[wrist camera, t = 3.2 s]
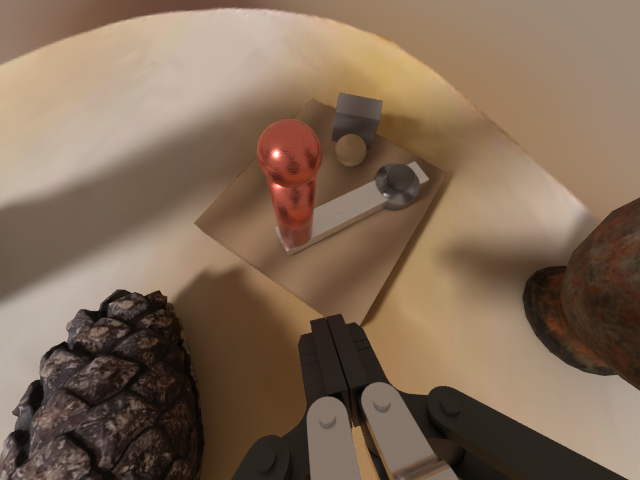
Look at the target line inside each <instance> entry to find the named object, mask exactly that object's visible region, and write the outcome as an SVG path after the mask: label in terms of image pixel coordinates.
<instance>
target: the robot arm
mask: <svg viewBox="0 0 640 480" xmlns="http://www.w3.org/2000/svg"><path fill="white" fill-rule="evenodd" d="M310 324H311V330H312V333H308V334H304V335H301V337H300V341H299V344H298V349H299V355H300V362H301V368H302V375H303V381H304V388H305V394H306V402H307V406H306V412H305V414H304V417H303V419H302V420H301V422H300V423H299V424H298V425H297V426H296V427H295V428H294V429H293V430H291V431H290V432H288V433H287V434H286V435H284V436H283V437H282V438H280V437H278V436H275V435H269V436H265V437H262V438H261V439H259V440H258V441H257V442H255V443H254V444H253V446H252V447H251V448H250V450H249V451H248V453H247V454H246V456H245V458H244V459H243V461H242V463H241V464H240V466H239V468H238V469H237V471H236V472H235V474H234V476H233V477H232V479H231V480H361V475H360V471H359V466H358V461H357V456H356V452H355V447H354V442H353V438H352V430H351V428H352V422H353V425H354V427H357V426H361V430H362V433H363V436H364V439H365V448H366V451H367V454H368V456H369V459H370V462H371V464H372V467H373V469H374V472H375V475H376V477H377V480H628V479H626V478H624V477H622V476H620V475H618V474H616V473H614V472H613V471H611V470H609V469H607V468H605V467H603V466H601V465H599V464H597V463H595V462H593V461H592V460H590V459H588V458H586V457H584V456H582V455H580V454H578V453H576V452H574V451H572V450H571V449H569V448H567V447H565V446H563V445H561V444H559V443H557V442H555V441H553V440H551V439H550V438H548V437H546V436H544V435H542V434H540V433H538V432H536V431H534V430H532V429H530V428H529V427H527V426H525V425H523V424H521V423H519V422H517V421H515V420H513V419H511V418H509V417H508V416H506V415H504V414H502V413H500V412H498V411H496V410H494V409H492V408H490V407H488V406H487V405H485V404H483V403H481V402H479V401H477V400H475V399H473V398H471V397H469V396H467V395H466V394H464V393H462V392H460V391H458V390H456V389H454V388H451V387H447V386H439V387H436V388H434V389H432V390H431V391H430V393H429V395H416V394H407V393H404V392H401V391H399V390H398V389H396V388H395V387H393V386H392V385H391V384H390V382H389V381H388V379H387V378H386V376H385V374H384V372H383V369H382V367H381V365H380V363H379V361H378V359H377V357H376V355H375V353H374V351H373V349H372V347H371V345H370V343H369V340H368V338H367V336H366V334H365V332H364V330H363V329H362V328H361V327H360V326H359V325H358V324H357V323H355V322H353V323H348V324H346V323H345V321H344V318H343V316H342V314H341V313H340V314H336V315H332V316H328V317H326V318H325V317H324V318H320V319H316V320H311V321H310ZM351 419H352V420H351Z"/></svg>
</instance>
